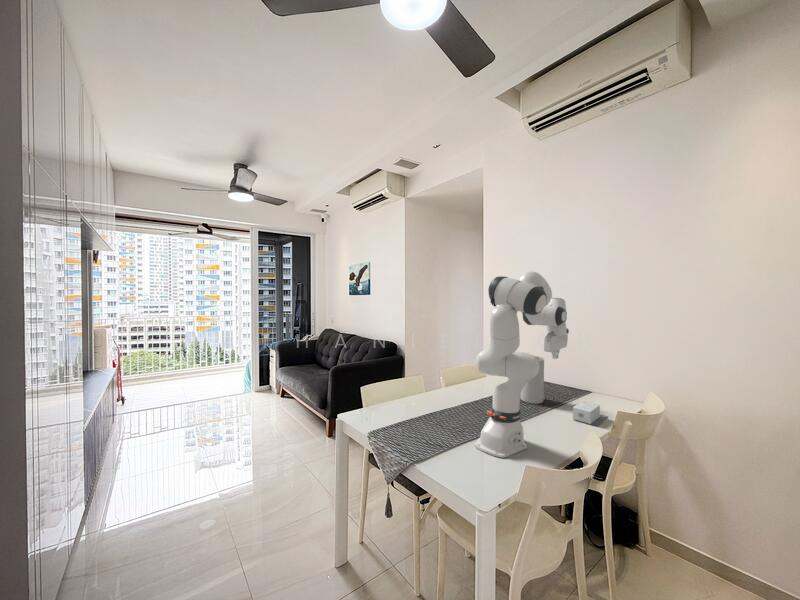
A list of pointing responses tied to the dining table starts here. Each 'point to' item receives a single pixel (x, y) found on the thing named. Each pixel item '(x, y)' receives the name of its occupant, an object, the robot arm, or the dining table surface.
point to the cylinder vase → (534, 386)
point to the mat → (598, 420)
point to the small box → (586, 412)
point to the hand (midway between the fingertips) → (555, 358)
